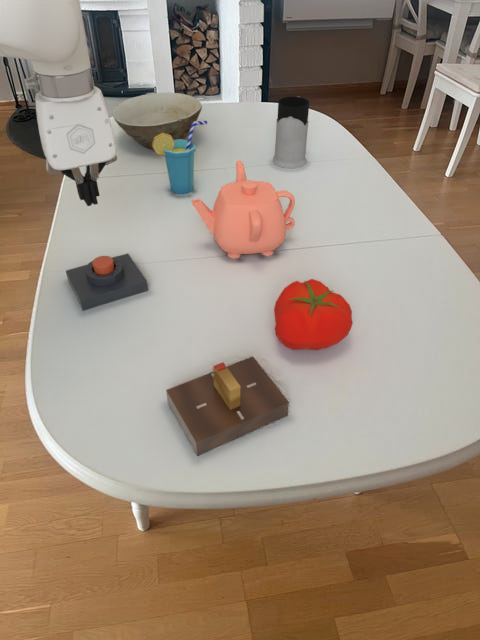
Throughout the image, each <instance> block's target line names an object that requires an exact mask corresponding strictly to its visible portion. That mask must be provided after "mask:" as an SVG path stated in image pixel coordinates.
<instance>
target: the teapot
mask: <svg viewBox="0 0 480 640" xmlns="http://www.w3.org/2000/svg"><path fill="white" fill-rule="evenodd" d="M235 169H236V177H235V182H228V183H226V184H223V185H222V186H220V187H221V188H220V189H219V191H218V194H217V196H216V199H215V201H214V204H213V209H212V210H211V209H210V208H209V206H208V205H207V204H206V203H205V202H203V200H202V199H201V198H194V199H191V203H192V206H193V208H194V210H196V212H197V214H198V215H199V217H200V218H201V220H202V221H203V223H204V224H205V226H206V227H207V229H208V230H209V232H210V233H211V234H213V238H214V240H215V242H216V243H217V245H218V247H219V248H220V249H221V250H222V251H223V252H226V253H227V257H228V258H230V259H239V258H241V256H242V254H243V255H251V254H261V255H262V256H266V257H268V256H269V257H270V256H272V255H274V253H275V252H274V250H276V249H278V248H280V247H281V245H282V244H283V243H284V241H285V240H286V237H287V230H290V229H293V227H294V225H295V219H294V218H293V217H291V214H292V212H293V211H294V207H295V205H296V199H295V196H294V195H293V193H291V192H290V191H287V190H277V191H276V189H275V187H274V186H273V184H272V183H270V182H268V181H263V180H251V179H250V180H248V179H247V175H246V170H245V164H244V163H243V161H241V160H237V161H236V162H235ZM280 198H287V199H289V204H288V205H287V208H286V210H285V212H284V210H283V206H282V204H281V201H280Z"/></svg>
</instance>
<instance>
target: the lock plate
mask: <svg viewBox="0 0 480 640" xmlns="http://www.w3.org/2000/svg"><path fill="white" fill-rule="evenodd" d="M226 367H227V368H228V370H229V371H230V372H231V374H232V375H233V377H234V378H235V379H236V381H237V382H238V384H239V385H240V386H241V392H240V406H239V407H237V408H234V409H232V410H230V409H229V408H228V406H227V405H226V403H225V402H224V400H223V399H222V397H221V396H220V394H219V393H218V391H217V390H216V388H215V387H214V376H213V371H211V372H209V373H207V374H204V375H201V376H198V377H196V378H194V379H191V380H187V381H186V382H183V383H181V384H178V385H175V386H173V387H170V388H168V389H166V390H165V392H166V399H167V400H166V401H167V405H168V407H169V408H170V410H171V412H172V414H173V415H174V417H175V420H176V421H177V423H178V424H179V426H180V428H181V430H182V432H183V433H184V435H185V437H186V439H187V440H188V442H189V444H190V446H191V448H192V449H193V451H194V453H195V454H196V456H197V457H198V456H201V455H203V454H205V453H208V452H210V451H212V450H214V449H217V448H218V447H222V446H223V445H225V444H228V443H230V442H232V441H234V440H236V439H239V438H241V437H243V436H245V435H248V434H251V433H252V432H254V431H256V430H259V429H261V428H263V427H266V426H268V425H270V424H272V423H274V422H276V421H279V420H281V419H283V418H285V417H288V414H289V405H290V401H289V400H288V399H287V397H286V396H285V395H284V394H283V392H282V391H281V390H280V388H279V387H278V386H277V384H276V383H275V382H274V381H273V379H271V377H270V376H269V374H268V373H267V372H266V371H265V369H264V368H263V367H262V366H261V364H260V363H259V361H257V359H256V358H255V357H254V355H252V356H250V357H247V358H245V359H242V360H240V361H237V362H234V363H232V364H229V365H226Z"/></svg>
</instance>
